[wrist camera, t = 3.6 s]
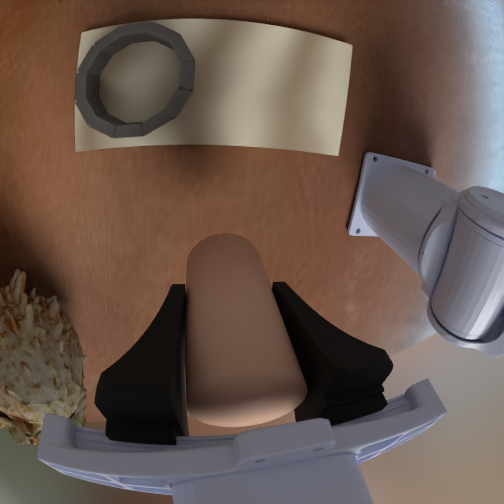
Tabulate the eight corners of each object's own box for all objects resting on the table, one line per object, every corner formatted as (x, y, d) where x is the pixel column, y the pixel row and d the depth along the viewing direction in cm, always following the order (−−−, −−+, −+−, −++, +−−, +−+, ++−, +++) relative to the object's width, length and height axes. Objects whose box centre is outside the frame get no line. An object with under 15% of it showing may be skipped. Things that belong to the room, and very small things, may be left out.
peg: (264, 233, 15) (322, 364, 8) (256, 293, 18) (293, 419, 10) (185, 233, 15) (180, 377, 7) (188, 295, 17) (191, 429, 9)
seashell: (-99, 373, 2) (-46, 414, 9) (94, 481, 10) (80, 473, 17) (-21, 222, 16) (-10, 302, 23) (119, 294, 24) (94, 352, 31)
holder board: (346, 46, 16) (370, 41, 13) (332, 153, 20) (353, 163, 17) (86, 34, 12) (67, 25, 9) (81, 149, 16) (61, 159, 14)
